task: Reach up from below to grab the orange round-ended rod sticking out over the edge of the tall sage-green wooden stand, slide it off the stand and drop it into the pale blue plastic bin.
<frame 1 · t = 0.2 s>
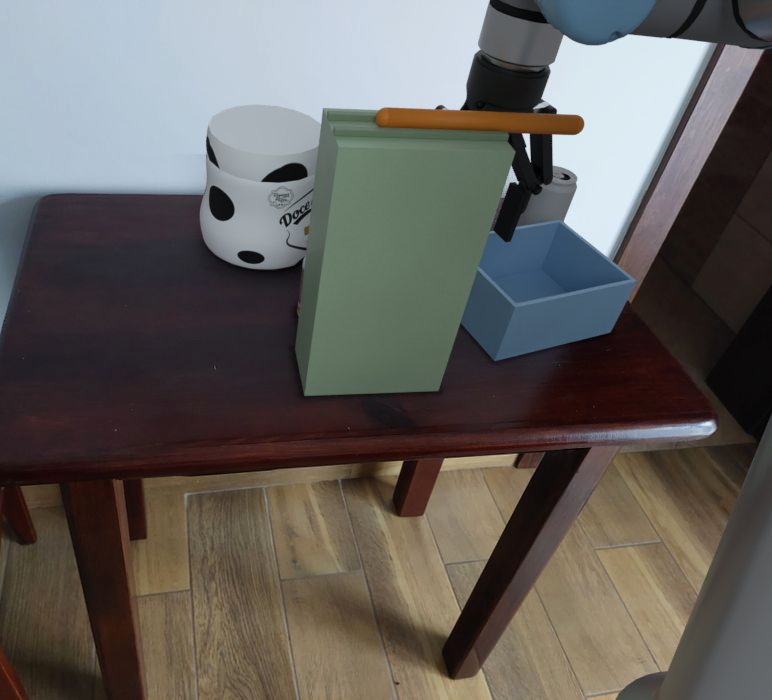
hand: (455, 242, 80), 13 cm above the table, tool pointing down, fingers open, 12 cm apart
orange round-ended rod: (479, 131, 62), point 30 cm above the table, touching stand
milk container: (260, 248, 98), on the table
pill bottle: (320, 316, 88), on the table
beverage can: (531, 244, 107), on the table
bin: (519, 311, 93), on the table
stand: (365, 369, 81), on the table
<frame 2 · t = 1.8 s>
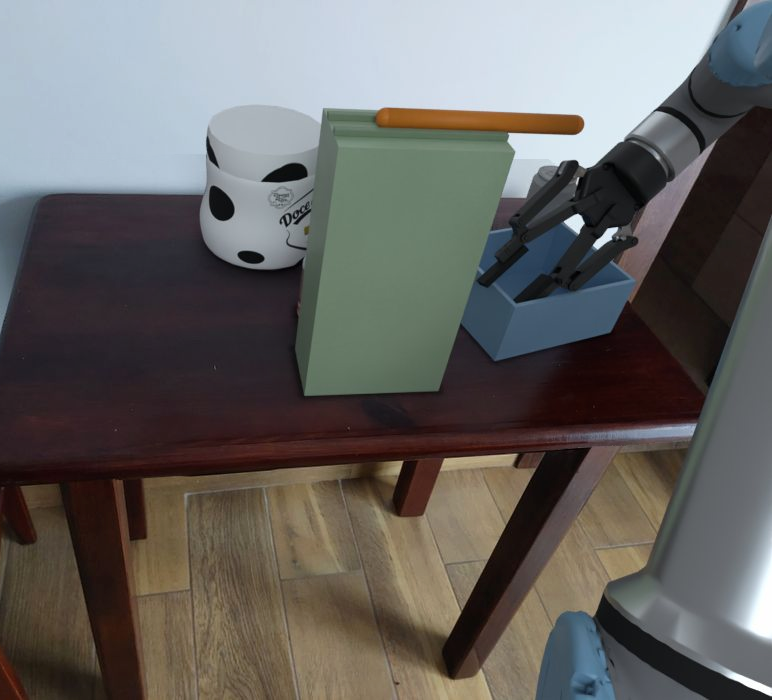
hand: (495, 299, 82), 7 cm above the table, tool tilted 50°, fingers closed on bin, 4 cm apart
nothing on the table moved.
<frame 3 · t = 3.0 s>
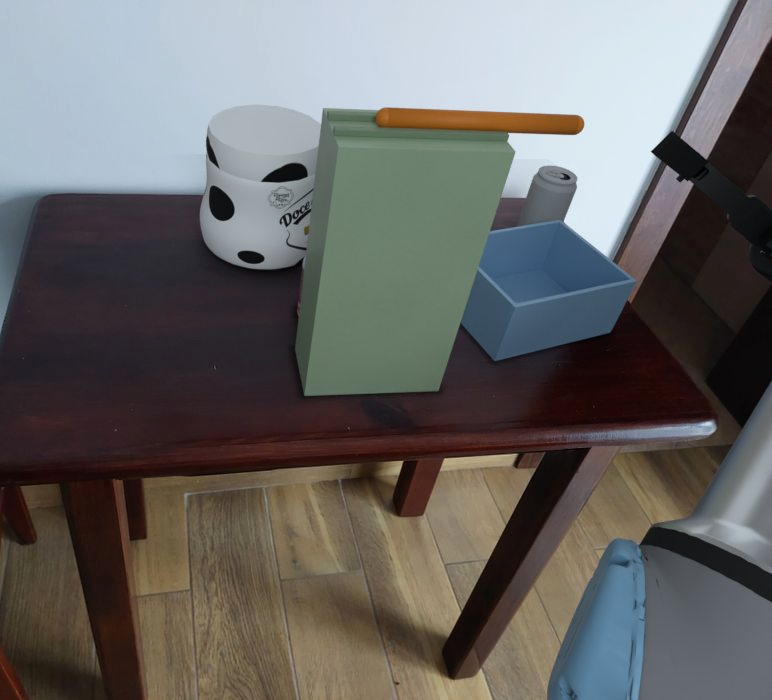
hand: (700, 176, 65), 28 cm above the table, tool pointing upward, fingers open, 13 cm apart
nothing on the table moved.
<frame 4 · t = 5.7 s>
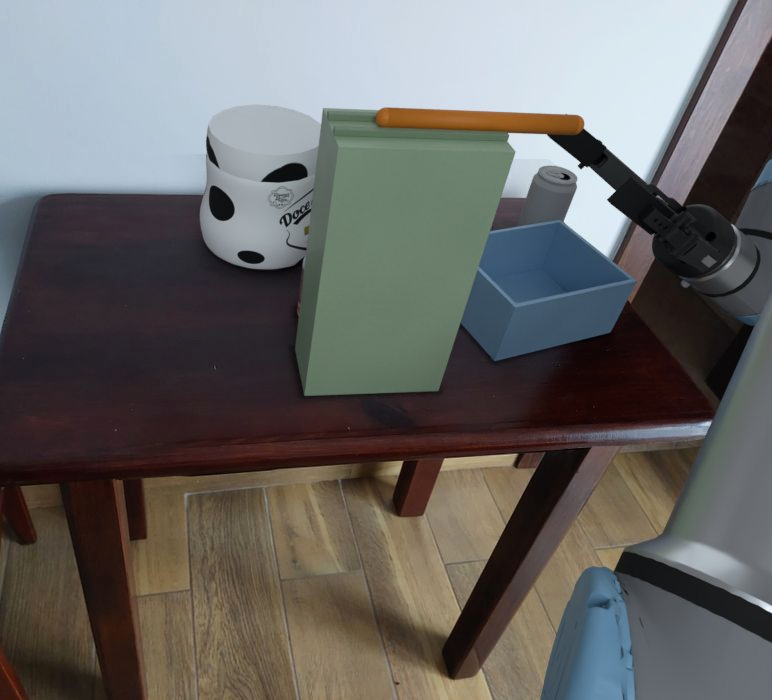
hand: (586, 155, 65), 28 cm above the table, tool pointing upward, fingers open, 13 cm apart
nothing on the table moved.
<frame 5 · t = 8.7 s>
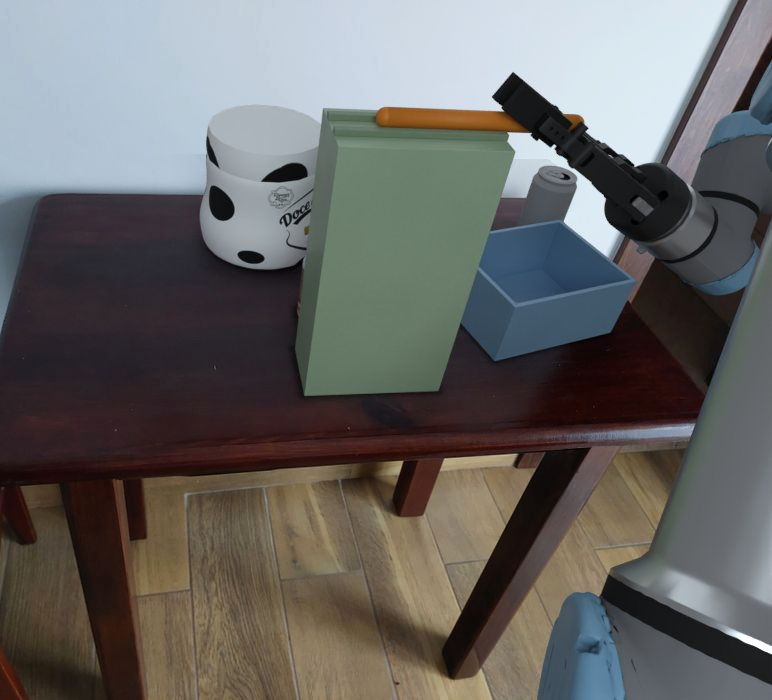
hand: (508, 91, 60), 34 cm above the table, tool pointing upward, fingers closed on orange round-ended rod, 2 cm apart
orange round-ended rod: (479, 130, 62), point 30 cm above the table, touching gripper
everything else where it was.
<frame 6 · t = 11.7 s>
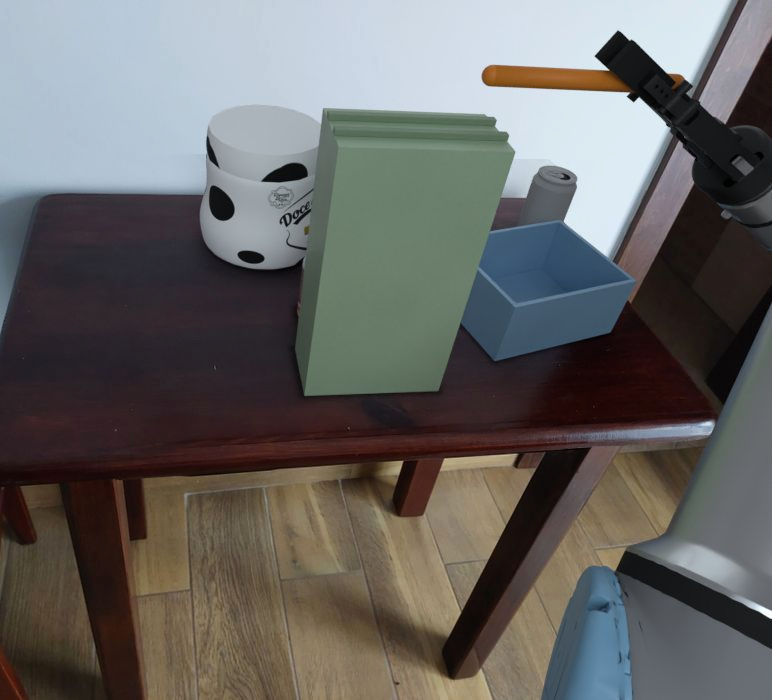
hand: (614, 49, 60), 37 cm above the table, tool pointing upward, fingers closed on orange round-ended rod, 2 cm apart
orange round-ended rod: (581, 89, 62), point 34 cm above the table, touching gripper
everything else where it was.
when the fingers open (29 cm above the table, at t = 14.9 s): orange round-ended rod drops 18 cm and tips over, resting on bin.
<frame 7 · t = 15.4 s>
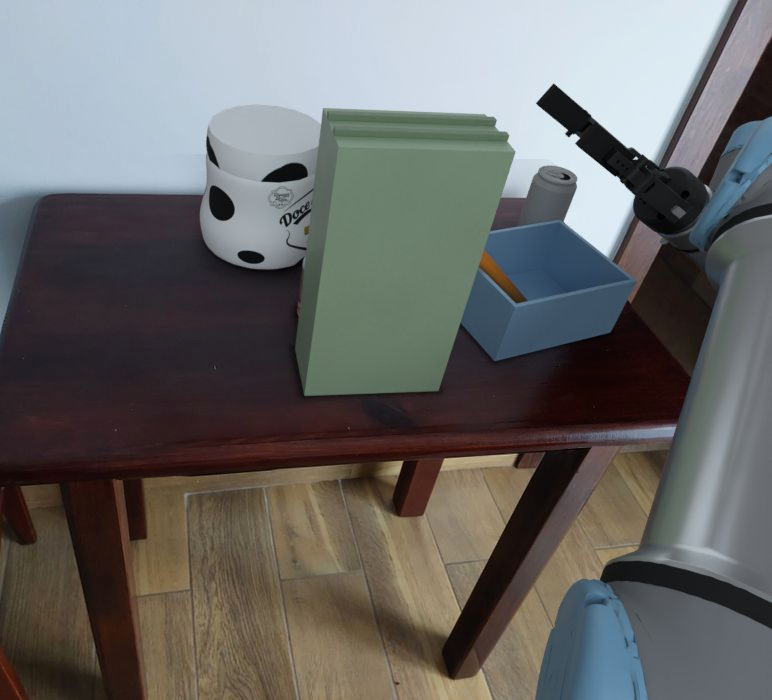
hand: (565, 113, 72), 28 cm above the table, tool pointing upward, fingers open, 10 cm apart
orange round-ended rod: (486, 274, 86), point 7 cm above the table, tilted 44°, touching bin
everything else where it was.
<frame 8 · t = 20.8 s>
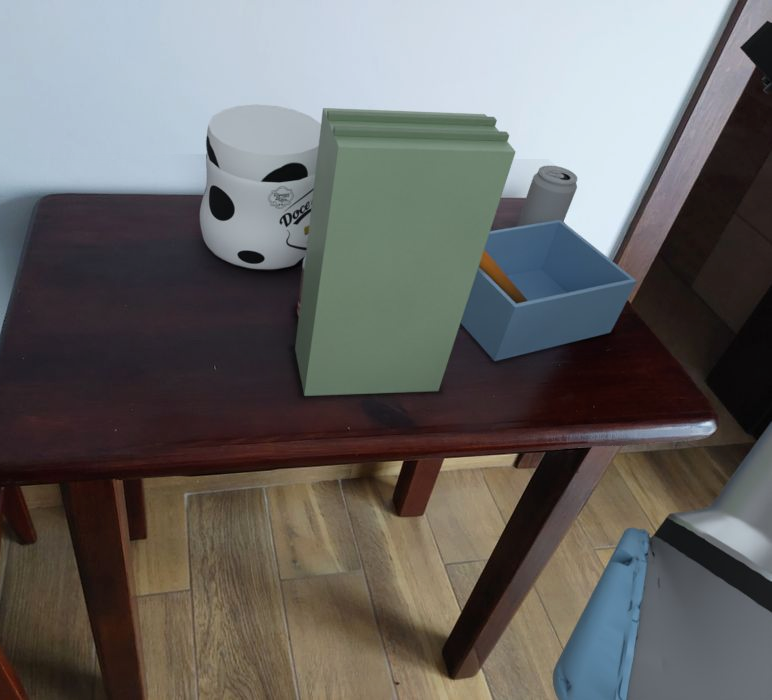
nothing on the table moved.
at the end: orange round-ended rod inside the target area in the bin (7.5 cm from its centre), point 7.1 cm above the bin's base; the gripper is holding nothing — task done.
